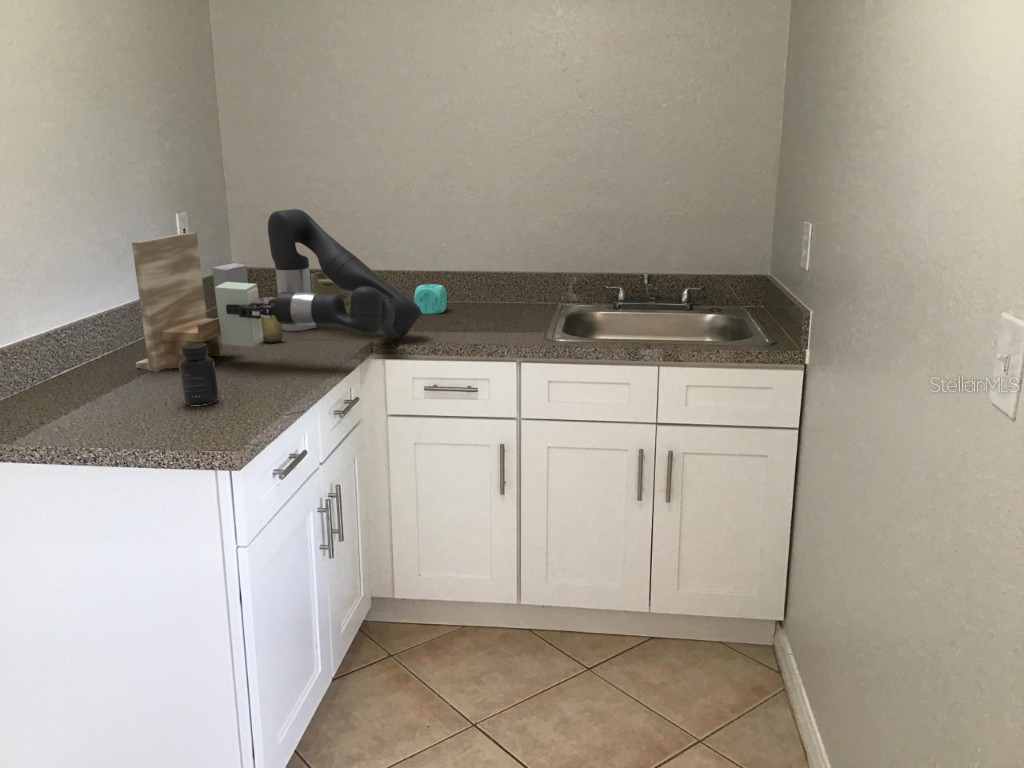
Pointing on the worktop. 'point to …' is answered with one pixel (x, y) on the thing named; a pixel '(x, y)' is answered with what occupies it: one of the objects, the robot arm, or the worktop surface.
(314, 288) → the piston
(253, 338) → the cabinet
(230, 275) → the skincare box
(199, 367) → the supplement bottle
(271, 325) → the fennel bulb
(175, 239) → the wooden display stand
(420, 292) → the decorative dice
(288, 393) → the worktop surface
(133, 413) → the worktop surface
